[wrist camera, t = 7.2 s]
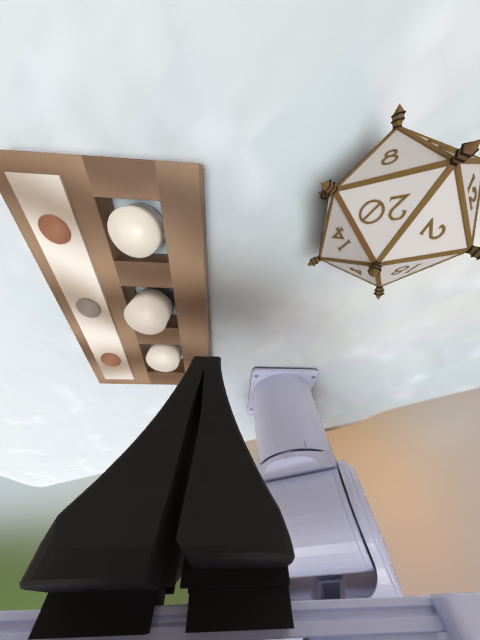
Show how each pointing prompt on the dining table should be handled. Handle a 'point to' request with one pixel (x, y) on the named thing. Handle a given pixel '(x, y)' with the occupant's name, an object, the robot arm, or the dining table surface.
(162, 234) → the button
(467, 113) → the dining table surface
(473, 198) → the game die
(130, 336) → the button board
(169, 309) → the button middle
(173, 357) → the button
